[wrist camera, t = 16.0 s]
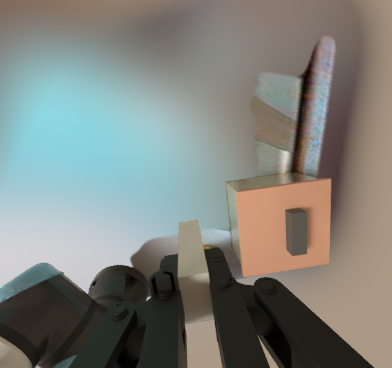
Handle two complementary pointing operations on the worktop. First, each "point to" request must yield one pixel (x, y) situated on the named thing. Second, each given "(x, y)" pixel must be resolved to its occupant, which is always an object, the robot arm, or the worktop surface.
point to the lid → (284, 226)
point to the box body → (249, 184)
